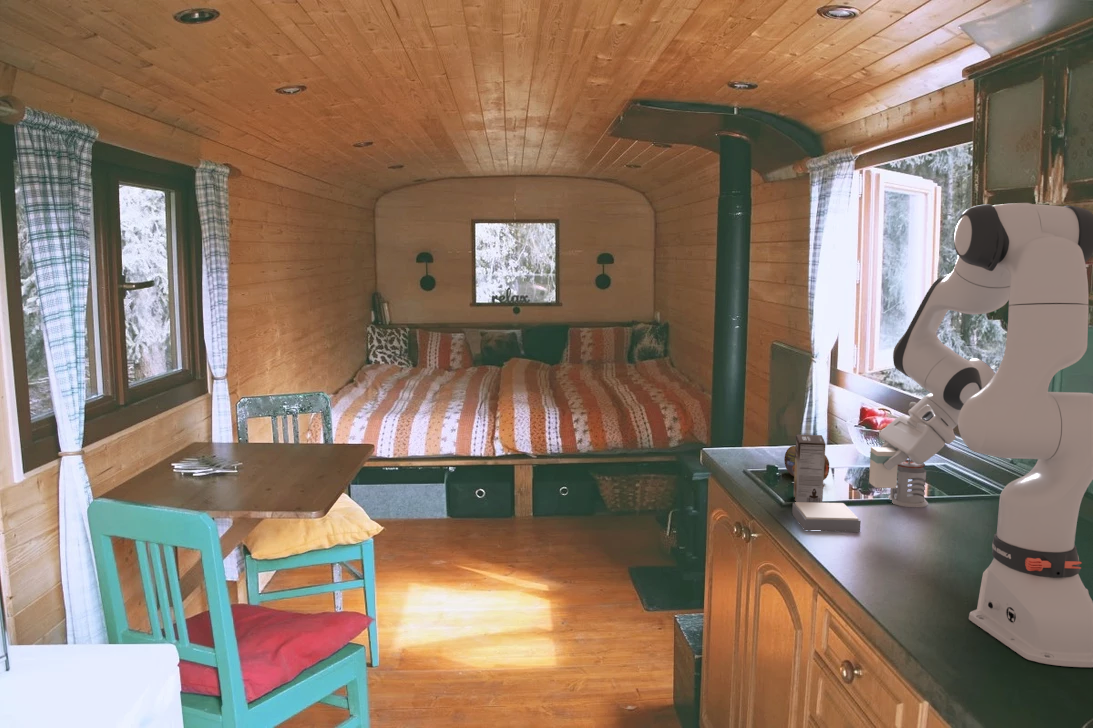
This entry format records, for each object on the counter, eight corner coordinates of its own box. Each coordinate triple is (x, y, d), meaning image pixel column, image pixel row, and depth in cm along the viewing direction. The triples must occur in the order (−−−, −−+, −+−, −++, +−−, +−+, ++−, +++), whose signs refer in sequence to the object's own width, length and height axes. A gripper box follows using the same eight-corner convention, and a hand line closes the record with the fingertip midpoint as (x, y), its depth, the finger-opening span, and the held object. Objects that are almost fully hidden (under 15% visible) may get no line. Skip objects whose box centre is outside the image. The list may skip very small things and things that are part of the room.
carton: (896, 488, 180) (898, 451, 179) (875, 487, 180) (877, 451, 179) (889, 482, 184) (891, 447, 183) (868, 482, 184) (870, 447, 183)
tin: (782, 472, 233) (784, 442, 232) (791, 471, 234) (793, 441, 233) (821, 486, 219) (823, 454, 218) (830, 484, 221) (832, 453, 219)
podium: (860, 532, 183) (860, 518, 183) (804, 530, 184) (805, 517, 183) (844, 515, 195) (844, 502, 195) (792, 513, 196) (792, 501, 195)
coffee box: (792, 495, 210) (795, 433, 208) (818, 497, 209) (822, 434, 207) (795, 506, 201) (798, 441, 199) (823, 508, 200) (826, 443, 198)
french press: (937, 504, 203) (944, 404, 200) (901, 509, 199) (907, 407, 196) (906, 493, 212) (913, 397, 209) (871, 498, 208) (876, 400, 205)
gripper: (902, 402, 190) (856, 443, 192) (938, 418, 170) (886, 464, 171) (921, 422, 190) (875, 463, 192) (959, 440, 170) (907, 486, 172)
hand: (880, 464), depth 182 cm, fingers closed on carton, 4 cm apart
